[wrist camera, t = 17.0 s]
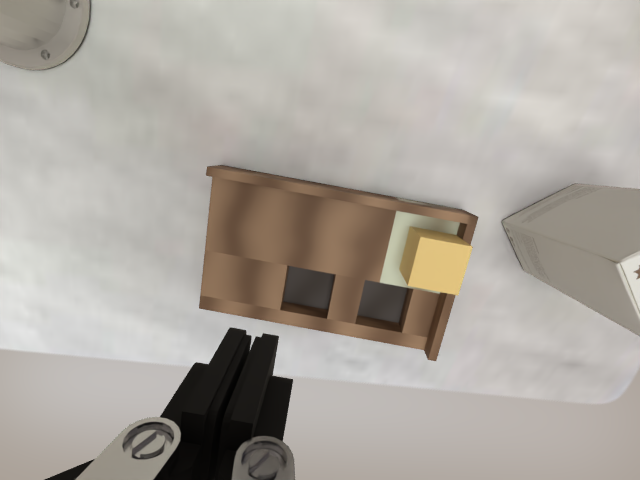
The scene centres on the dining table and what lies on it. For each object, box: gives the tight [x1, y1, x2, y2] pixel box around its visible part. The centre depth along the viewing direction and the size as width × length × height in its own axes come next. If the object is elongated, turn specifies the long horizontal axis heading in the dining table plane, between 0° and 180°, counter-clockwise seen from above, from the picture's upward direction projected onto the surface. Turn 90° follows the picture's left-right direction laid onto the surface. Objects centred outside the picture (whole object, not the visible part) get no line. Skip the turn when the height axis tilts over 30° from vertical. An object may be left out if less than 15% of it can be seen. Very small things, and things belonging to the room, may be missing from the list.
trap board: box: [199, 165, 478, 361], centre depth 36 cm, size 25×15×4 cm, turn 80°
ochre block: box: [399, 226, 473, 295], centre depth 33 cm, size 4×4×4 cm
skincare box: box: [502, 184, 640, 336], centre depth 29 cm, size 8×7×16 cm
